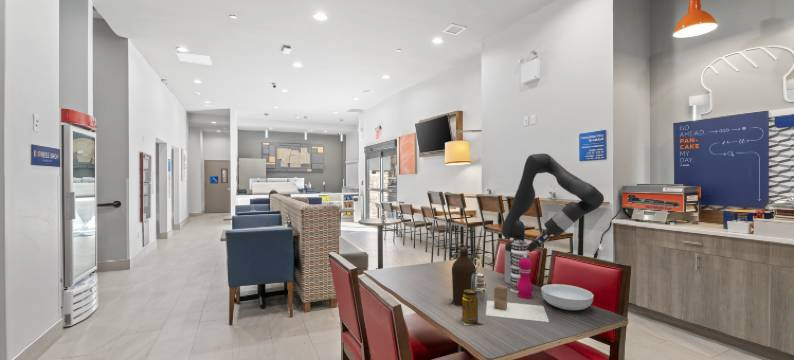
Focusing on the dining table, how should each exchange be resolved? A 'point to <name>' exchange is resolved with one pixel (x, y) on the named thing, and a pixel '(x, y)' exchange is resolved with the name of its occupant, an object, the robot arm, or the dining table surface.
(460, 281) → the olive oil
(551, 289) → the serving bowl
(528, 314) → the rubber mat
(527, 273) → the pepper mill
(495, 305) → the walnut block
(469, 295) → the condiment
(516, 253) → the decorative candle
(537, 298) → the dining table surface
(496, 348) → the dining table surface
